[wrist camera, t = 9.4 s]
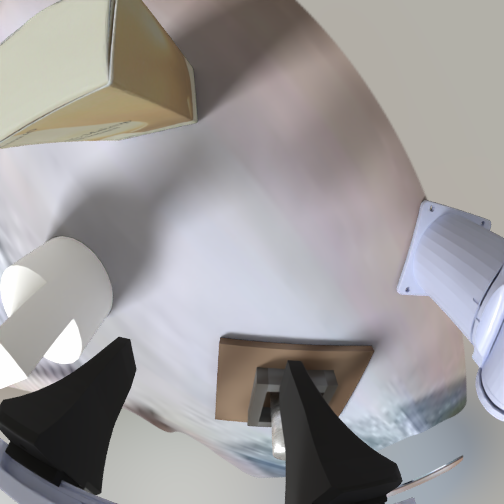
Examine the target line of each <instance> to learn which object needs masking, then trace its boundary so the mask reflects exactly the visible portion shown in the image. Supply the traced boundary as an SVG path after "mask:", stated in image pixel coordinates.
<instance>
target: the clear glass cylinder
mask: <svg viewBox="0 0 504 504" xmlns="http://www.w3.org/2000/svg"><path fill="white" fill-rule="evenodd" d="M270 404H271V425H272V446H273V456H274V457H275V458H277V459H280V460H286V454H285V444H284V437H283V430H282V423H281V415H280V408H279V392H270Z"/></svg>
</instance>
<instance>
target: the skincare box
mask: <svg viewBox="0 0 504 504" xmlns="http://www.w3.org/2000/svg"><path fill="white" fill-rule="evenodd" d="M194 123H197V105H196V93H195V82H194V72H193V68H192V67H191V65H190V64H189V62H188V61H187V59H186V58H185V57H184V55H183V54H182V53H181V51H180V50H179V48H178V47H177V46H176V44H175V43H174V42H173V40H172V39H171V38H170V36H169V35H168V34H167V32H166V31H165V30H164V28H163V27H162V26H161V25H160V23H159V22H158V21H157V19H156V18H155V17H154V15H153V14H152V13H151V12H150V10H149V9H148V8H147V6H146V5H145V4H144V3H143V2H142V0H60V1H58V2H56V3H55V4H53V5H51V6H49V7H47V8H45V9H44V10H42V11H41V12H39V13H38V14H36V15H35V16H34V17H32V18H31V19H30V20H28V21H27V22H26V23H25V24H24V25H23V26H21V27H20V28H19V29H17V30H16V31H15V32H14V33H12V34H11V35H10V36H9V37H7V38H6V39H5V40H4V41H3V42H2V43H0V149H3V148H10V147H17V146H24V145H33V144H43V143H56V142H73V141H119V140H123V139H128V138H132V137H137V136H141V135H146V134H150V133H154V132H159V131H163V130H167V129H171V128H176V127H180V126H185V125H189V124H194Z"/></svg>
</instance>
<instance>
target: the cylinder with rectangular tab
mask: <svg viewBox="0 0 504 504" xmlns="http://www.w3.org/2000/svg"><path fill="white" fill-rule="evenodd" d="M0 290H1V297H2V302H3V305H4V308H5V311H6V313H7V315H8V317H9V318H8V319H7V320H6V321H5V322H4V323H3V324H2V325H1V326H0V389H1V388H4V387H6V386H9V385H11V384H14V383H16V382H19V381H21V380H24V379H26V378H28V377H29V375H30V374H31V373H32V371H33V370H34V368H35V367H36V366H37V364H38V363H39V362H40V360H41V359H42V357H45V358H47V359H49V360H51V361H54V362H56V363H62V364H68V363H73V362H74V361H76V360H77V359H78V358H79V357H80V355H81V354H82V352H83V351H84V349H85V348H86V346H87V345H88V343H89V342H90V340H91V339H92V337H93V336H94V334H95V333H96V332H97V330H98V329H99V327H100V326H101V324H102V323H103V322H104V320H105V319H106V317H107V316H108V314H109V312H110V310H111V308H112V303H113V292H112V285H111V282H110V279H109V276H108V274H107V272H106V270H105V268H104V266H103V265H102V263H101V261H100V260H99V259H98V258H97V256H96V255H95V254H94V253H93V252H92V251H91V250H90V249H89V248H88V247H87V246H85V245H84V244H83V243H81V242H79V241H77V240H75V239H73V238H70V237H64V236H60V237H55V238H52V239H51V240H49V241H47V242H46V243H44V244H43V245H41V246H39V247H38V248H36V249H35V250H33V251H32V252H30V253H29V254H27V255H26V256H24V257H23V258H21V259H20V260H18V261H17V262H15V263H14V264H12V265H11V266H10V267H8V268H7V269H6V270H5V271H4V273H3V275H2V278H1V286H0Z"/></svg>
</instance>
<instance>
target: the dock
mask: <svg viewBox="0 0 504 504" xmlns="http://www.w3.org/2000/svg"><path fill="white" fill-rule="evenodd" d="M373 353H374V350H373V348H372V346H331V345H303V344H285V343H271V342H259V341H248V340H238V339H229V338H220V342H219V356H218V373H217V392H216V412H215V419H218V420H227V421H238V422H248V426H257V427H272V425H271V404H270V392H279V388H280V384H281V381H282V378H283V374H284V371H285V367H286V364H287V360H293V361H301V362H302V363H303V365H304V367H305V368H306V370H307V372H308V374H309V376H310V377H311V379H312V381H313V382H314V384H315V386H316V387H317V389H318V390H319V392H320V393H321V395H322V396H323V398H324V399H325V401H326V402H327V403H328V405H329V406H330V407H331V409H332V410H333V411H334V413H335V414H336V415H337V416H338V417H339V415H340V413H341V412H342V410H343V408H344V407H345V405H346V403H347V402H348V400H349V398H350V396H351V395H352V393H353V391H354V389H355V388H356V386H357V384H358V382H359V380H360V378H361V376H362V375H363V373H364V371H365V369H366V367H367V365H368V363H369V361H370V359H371V357H372V355H373Z"/></svg>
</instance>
